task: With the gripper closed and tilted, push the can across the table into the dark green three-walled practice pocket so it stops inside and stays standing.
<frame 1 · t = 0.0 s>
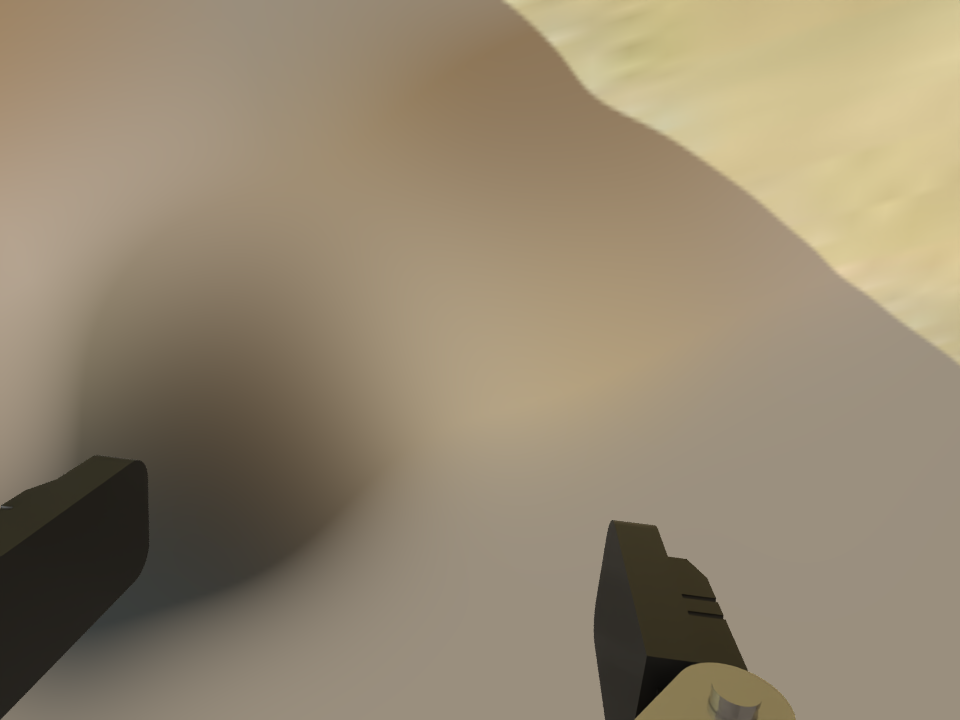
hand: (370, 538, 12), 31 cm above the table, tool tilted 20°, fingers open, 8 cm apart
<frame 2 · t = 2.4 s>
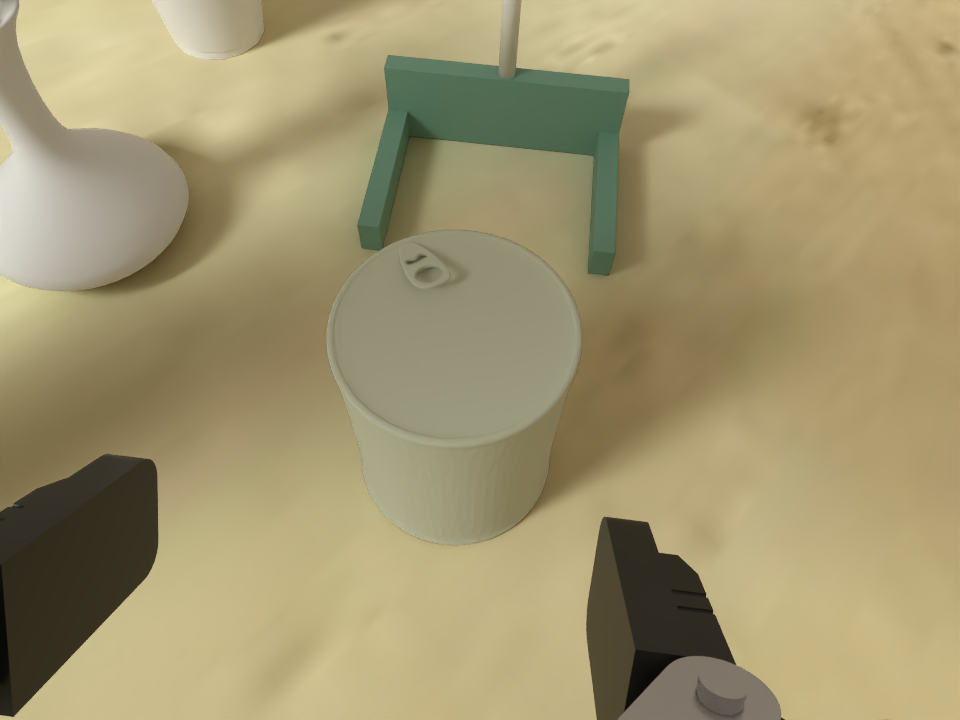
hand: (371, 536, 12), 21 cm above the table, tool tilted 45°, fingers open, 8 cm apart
flower in vase: (85, 231, 42), on the table
foam cup: (220, 33, 51), on the table
can: (456, 455, 35), on the table
practice pocket: (490, 222, 43), on the table
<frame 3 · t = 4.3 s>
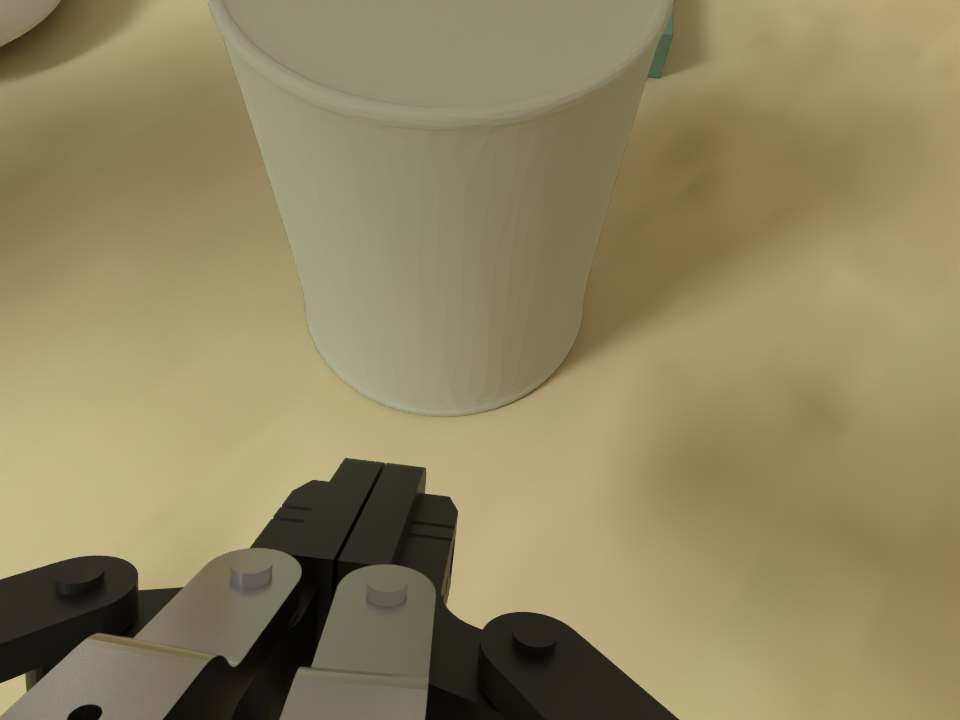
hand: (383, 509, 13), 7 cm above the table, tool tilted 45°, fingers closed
can: (445, 296, 24), on the table
practice pocket: (495, 13, 31), on the table
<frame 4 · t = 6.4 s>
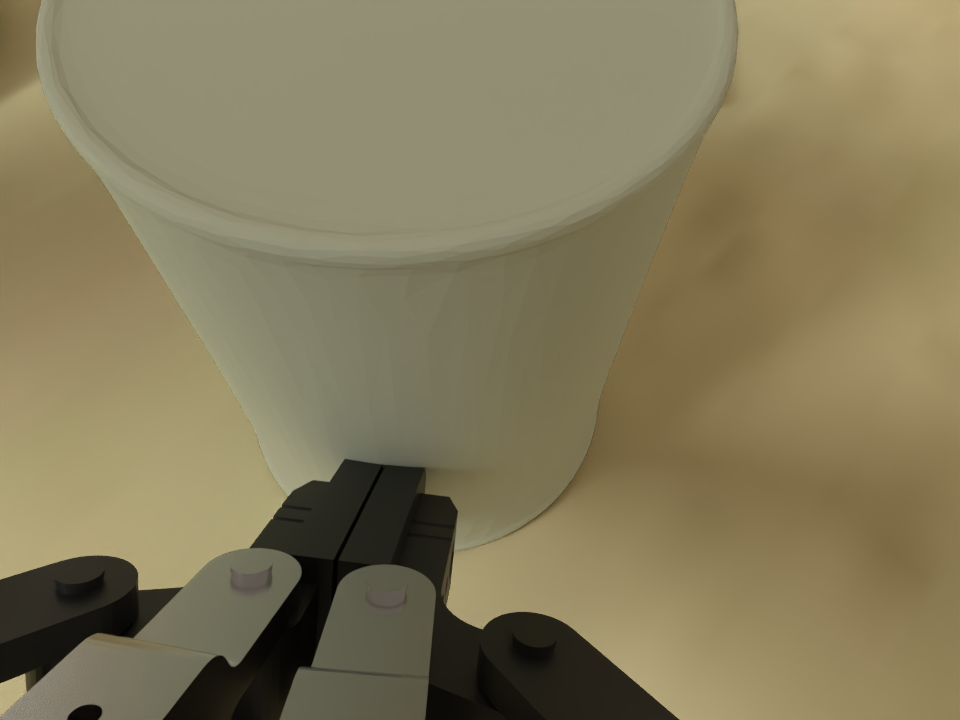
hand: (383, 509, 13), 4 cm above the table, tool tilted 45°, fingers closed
can: (428, 390, 20), on the table, touching gripper
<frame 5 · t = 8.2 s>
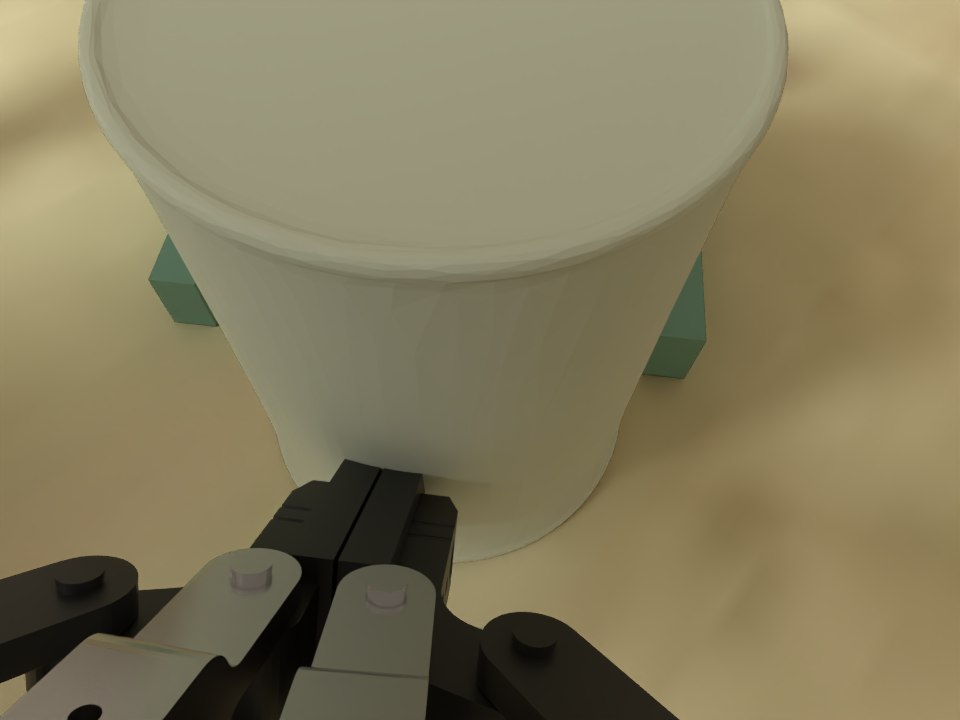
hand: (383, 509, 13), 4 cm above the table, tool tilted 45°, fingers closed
can: (449, 396, 19), on the table, touching gripper
practice pocket: (441, 264, 21), on the table
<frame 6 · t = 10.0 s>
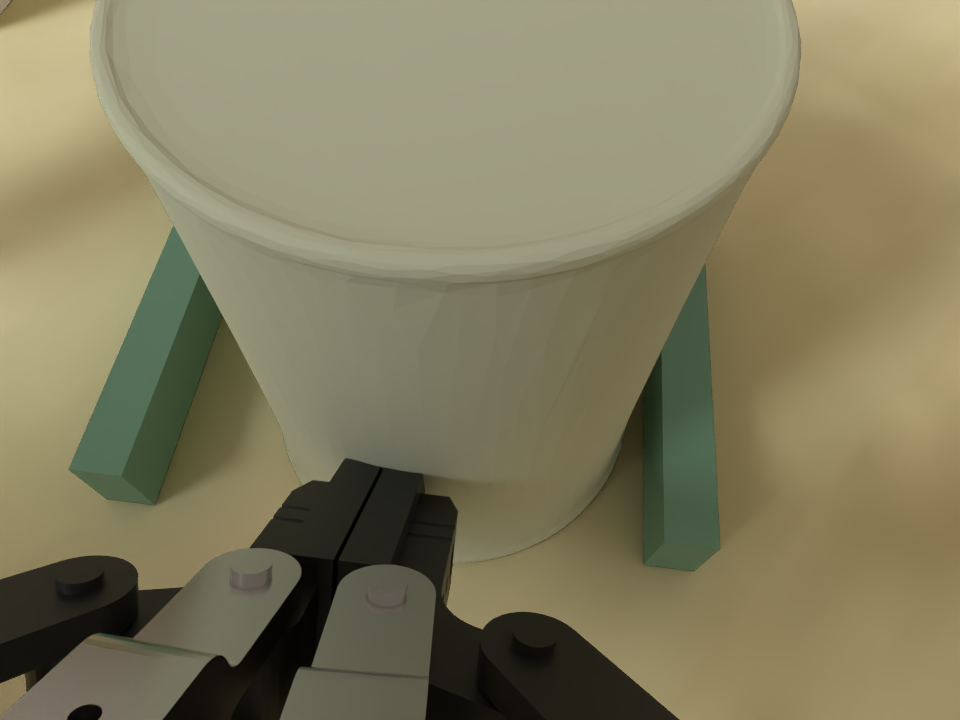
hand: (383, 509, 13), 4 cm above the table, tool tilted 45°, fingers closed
can: (455, 396, 19), on the table, touching gripper
practice pocket: (415, 423, 19), on the table
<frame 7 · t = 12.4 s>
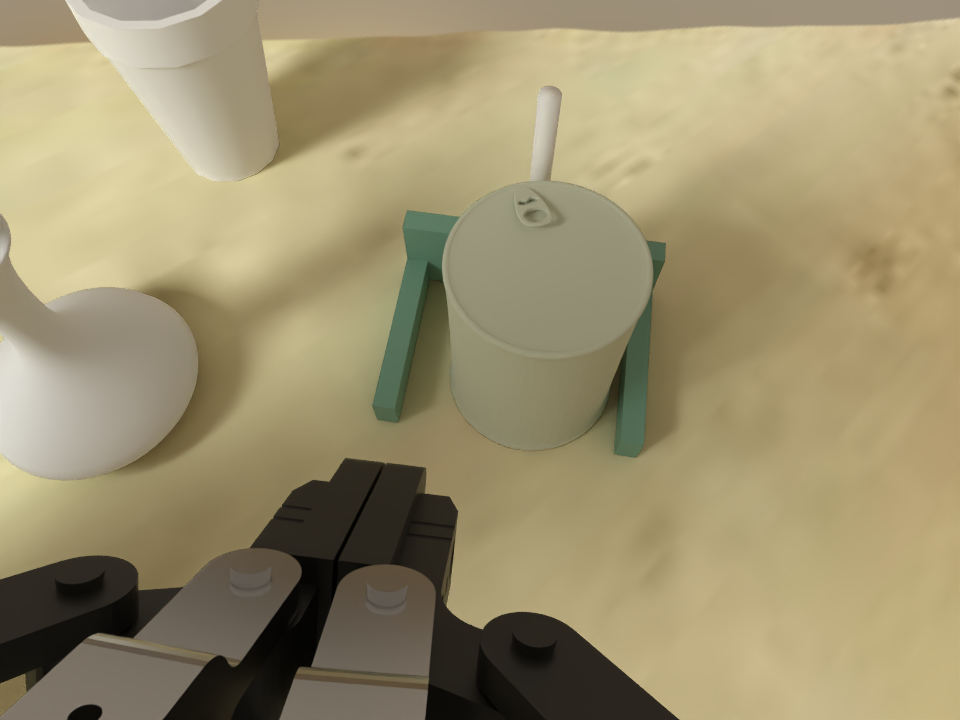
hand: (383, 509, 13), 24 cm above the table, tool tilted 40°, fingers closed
flower in vase: (93, 394, 41), on the table
foam cup: (233, 147, 49), on the table
can: (529, 376, 41), on the table
practice pocket: (512, 389, 41), on the table
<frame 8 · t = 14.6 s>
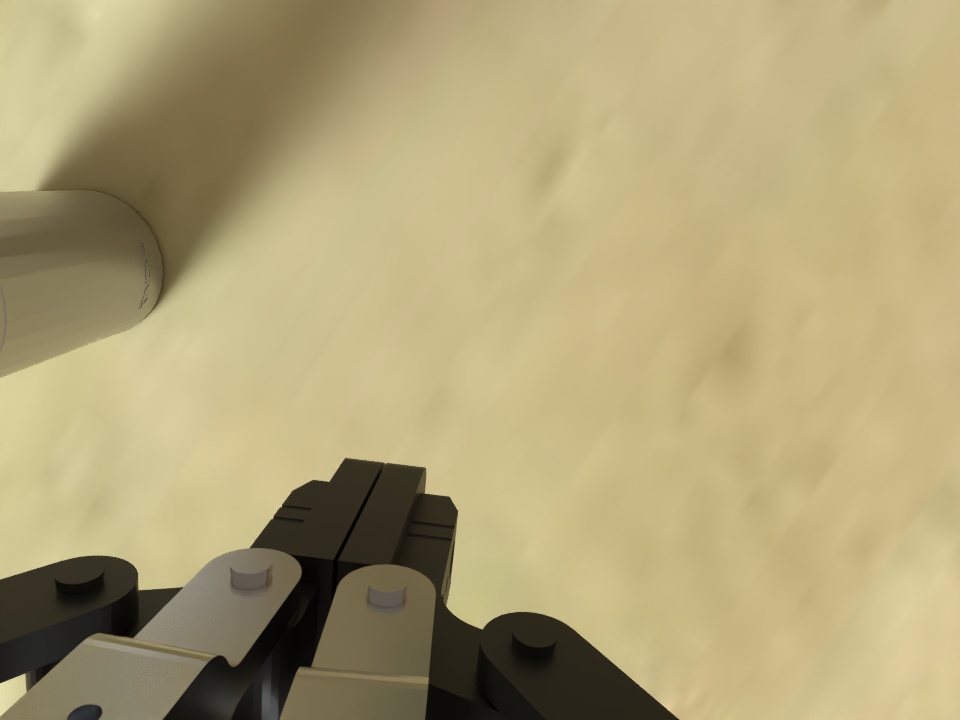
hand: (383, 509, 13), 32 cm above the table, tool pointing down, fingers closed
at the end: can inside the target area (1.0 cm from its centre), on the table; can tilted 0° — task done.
